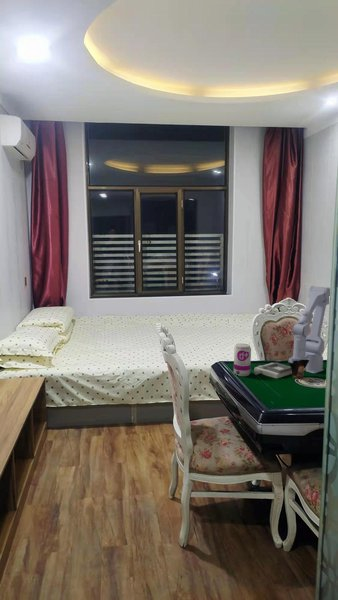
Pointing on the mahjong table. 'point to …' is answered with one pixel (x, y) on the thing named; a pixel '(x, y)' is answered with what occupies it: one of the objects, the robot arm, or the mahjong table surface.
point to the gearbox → (273, 370)
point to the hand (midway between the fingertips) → (298, 374)
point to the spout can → (300, 372)
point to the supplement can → (242, 359)
